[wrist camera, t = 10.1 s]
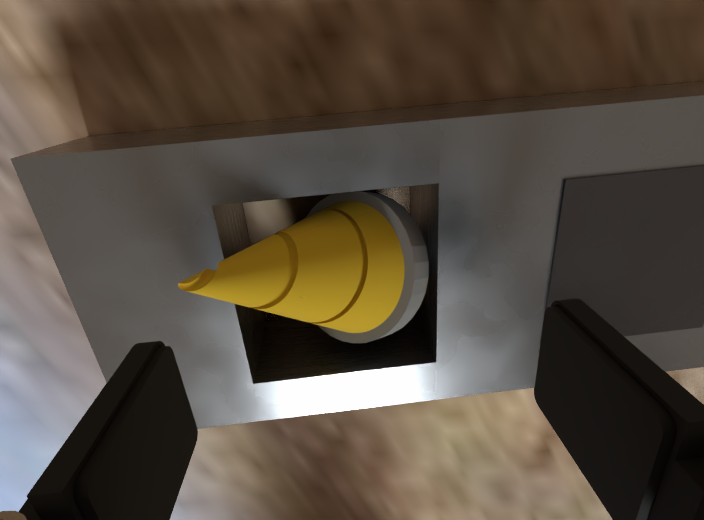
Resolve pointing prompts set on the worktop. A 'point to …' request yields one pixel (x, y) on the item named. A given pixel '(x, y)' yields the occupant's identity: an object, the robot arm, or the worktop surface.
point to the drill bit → (331, 269)
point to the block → (430, 216)
